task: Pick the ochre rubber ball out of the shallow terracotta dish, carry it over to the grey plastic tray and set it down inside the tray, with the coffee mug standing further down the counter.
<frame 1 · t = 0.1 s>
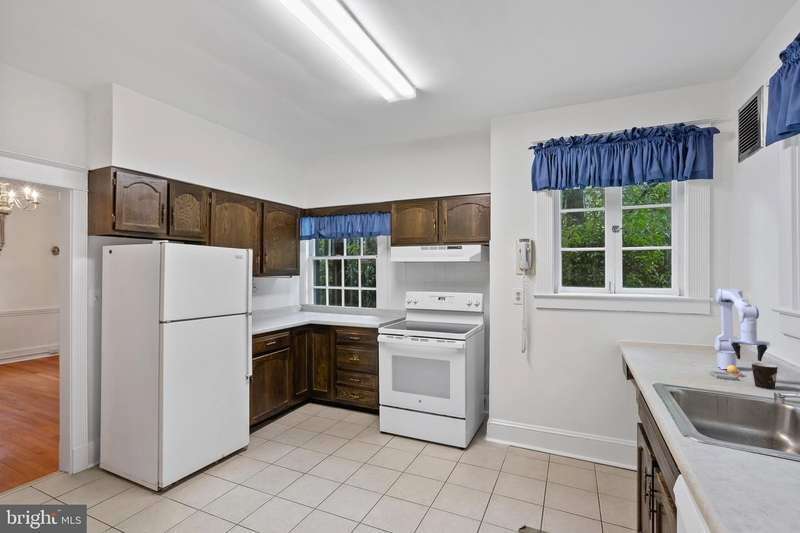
hand: (748, 359, 183), 10 cm above the counter, tool pointing down, fingers open, 7 cm apart
ball: (732, 369, 194), point 3 cm above the counter, touching dish
dish: (732, 374, 194), on the counter
tray: (723, 377, 189), on the counter
coffee mug: (761, 387, 171), on the counter
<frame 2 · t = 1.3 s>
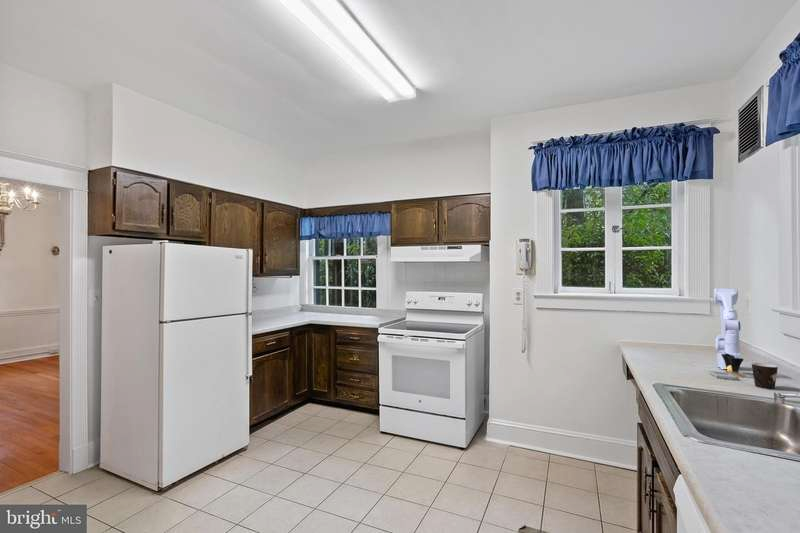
hand: (732, 370, 194), 2 cm above the counter, tool pointing down, fingers open, 7 cm apart
nothing on the counter moved.
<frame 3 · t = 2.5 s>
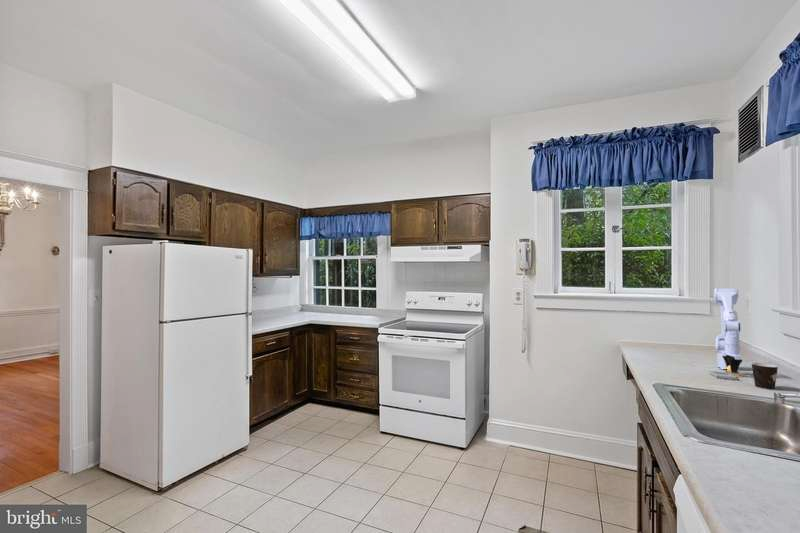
hand: (732, 371, 194), 2 cm above the counter, tool pointing down, fingers closed on ball, 4 cm apart
ball: (732, 369, 194), point 3 cm above the counter, touching dish, gripper
everything else where it was.
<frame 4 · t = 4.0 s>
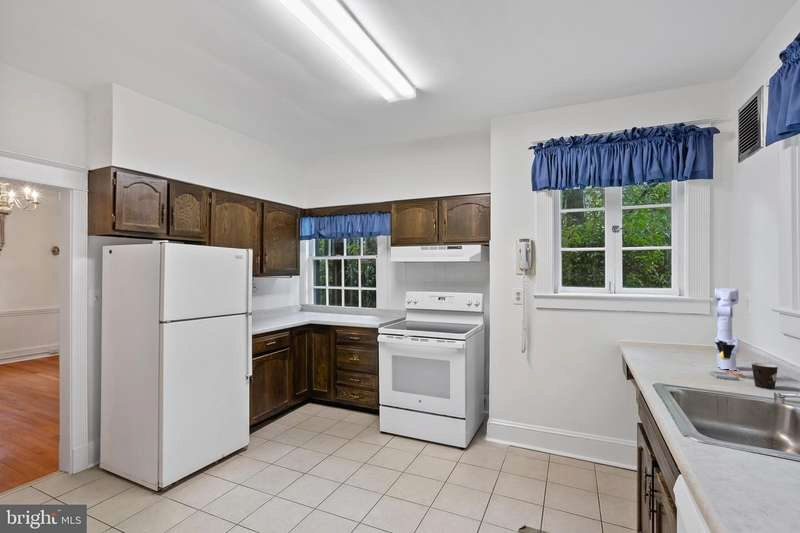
hand: (725, 357, 190), 10 cm above the counter, tool pointing down, fingers closed on ball, 4 cm apart
ball: (725, 355, 190), point 10 cm above the counter, touching gripper
everything else where it was.
when the fingers open (3 cm above the counter, at t = 5.9 s): ball drops 2 cm, resting on tray.
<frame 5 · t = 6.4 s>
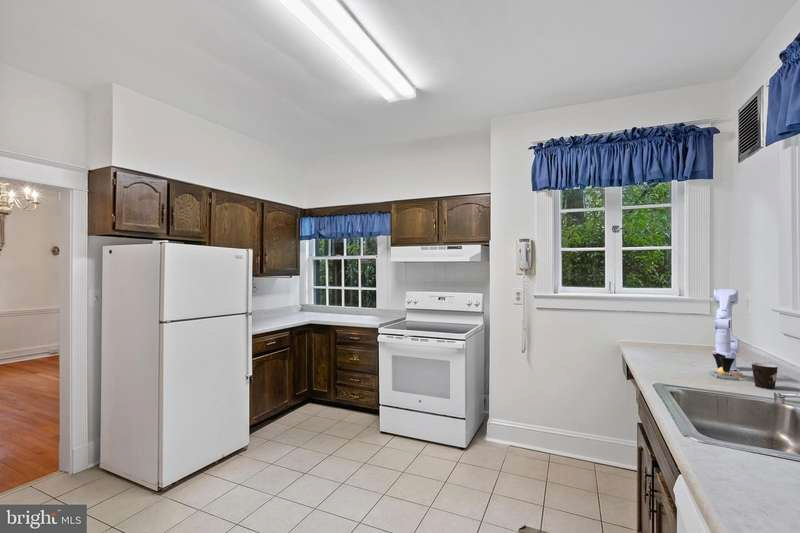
hand: (723, 370, 189), 3 cm above the counter, tool pointing down, fingers open, 7 cm apart
ball: (723, 371, 189), point 3 cm above the counter, touching tray
everything else where it was.
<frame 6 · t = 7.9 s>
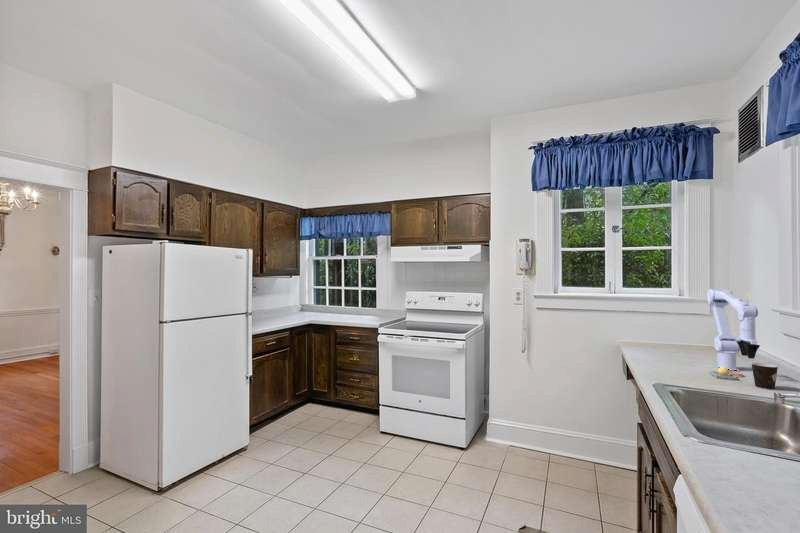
hand: (747, 356, 191), 10 cm above the counter, tool pointing down, fingers open, 7 cm apart
nothing on the counter moved.
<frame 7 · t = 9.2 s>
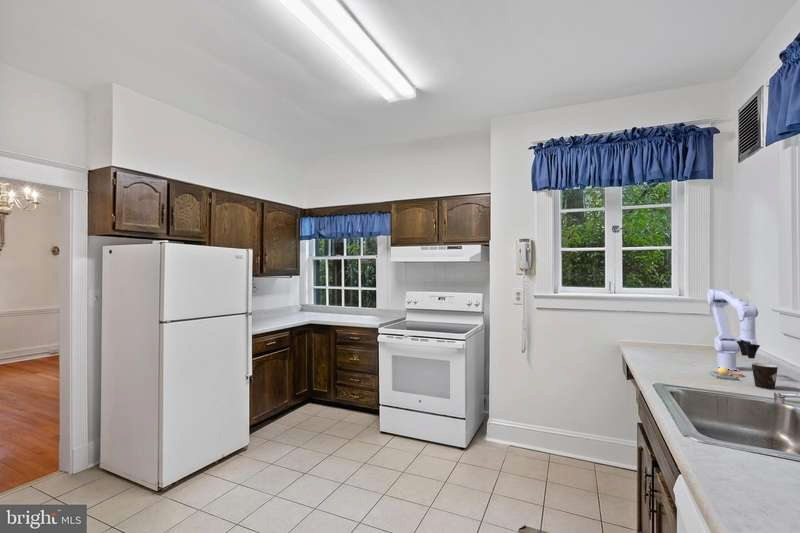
hand: (747, 356, 191), 10 cm above the counter, tool pointing down, fingers open, 7 cm apart
nothing on the counter moved.
at the end: ball inside the target area on the tray (0.0 cm from its centre), point 2.8 cm above the tray's base; the gripper is holding nothing; ball touching tray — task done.
